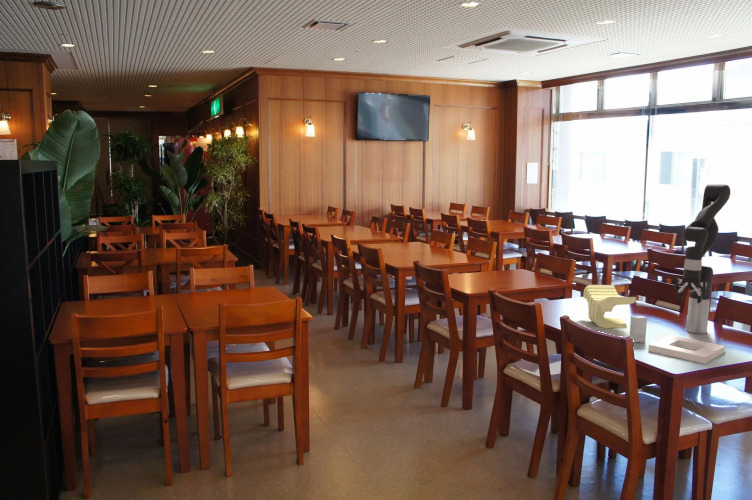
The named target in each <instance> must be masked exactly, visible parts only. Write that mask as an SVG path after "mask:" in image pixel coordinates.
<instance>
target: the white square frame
mask: <svg viewBox="0 0 752 500" xmlns="http://www.w3.org/2000/svg"><path fill="white" fill-rule="evenodd" d="M725 349H726V345H723V344H717V343H711V342H707V341H702V340H698V339H692V338H687V337H683V336H679V335H672V334H669V335H667V336H665V337H662V338H661V339H659V340H656V341H653V342H651V343H649V344H648V350H647V351H648V352H650V351H651V352H652V353H655V354H659V353H660V355H664V356H668V357H674V358H677V359H678V358H679V359H683V360H687V361H692V362H694V363H695V362H696V363H699V364H707V363H709V362H710V361H712V360H714V359H716V358H717V357H719V356H721V355H724V353H726V350H725Z"/></svg>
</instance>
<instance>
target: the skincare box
mask: <svg viewBox="0 0 752 500" xmlns="http://www.w3.org/2000/svg"><path fill="white" fill-rule="evenodd" d="M647 321H648V318H647V317H646V316H644V315H630V327H629V338H630V337H632V338H633V340H634V344H637V343H638V342H640V343H641V344H642V343H646V339H647V338H646V335H647Z"/></svg>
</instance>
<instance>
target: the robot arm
mask: <svg viewBox="0 0 752 500" xmlns="http://www.w3.org/2000/svg"><path fill="white" fill-rule="evenodd" d="M730 196H731V188H730V186H729V185H728V184H725V183H724V184H723V183H721V184H720V183H708V184H707V185H706V186H705V188H704V191H703V197H702V207H701V210H699V212H698V213H697V215H696V217H695V219H694V220H693V221H692V222H691V223H689V224H688V225H687V226H686V227H685V229H684V231H683V238H684V240H685V241H686V242H693V243H694V246H693V245H692V246H687V247H686V251H685V259H684V263H683V264H684V265H683V274H682V279H680V278H676V279H675V283H674V290H673V291H675V292H677V300H678V301H679V302H680V301H682V300H683V293H684V290H685V289H686V290H690V291H689V296H688V297H689V298H688V306H687V307H688V309H687V319H686V331H687V332H688V333H693V334H707V332H708V323H709V313H710V312H709V311H710V299H711V294H712V284H713V280H714V279H713V277H714V270H713V268H712V267H711V266H707V265H706V266H705V265H702V263H703V261H702V260H703V257H704V256H705V255H706V253H707V252H709V250H710V249H711V248H713V247H714V246H715V244H716V243H717V239H718V235H719V225H718V223H717V221H716V219H715V217H716V215H717V214H718V213H719V212H720V211H721V210H722V209H723V207H725V205H726V204H727V202H728V201H729V199H730ZM681 283H682V286H681V287H680V284H681ZM700 286H701V287H700Z"/></svg>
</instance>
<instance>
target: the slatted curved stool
mask: <svg viewBox="0 0 752 500" xmlns="http://www.w3.org/2000/svg"><path fill="white" fill-rule="evenodd" d="M583 299H584V300H586V301H587V304H588V305H587V306H588V319H589V320H590V321H591V322H593V323H594V324H596V325H597V327H599V328H608V329H609V328H610V329H612V328H616V329H627V328H628V327H627V323H626V322H624V321H623V320H622V319H620V318H618V317H617V318H616V317H615V318H614V317H605V313H606V312H607V313H608V312H610V313H611V312H613V311H612V310H614V307H616V306H618V305H620V306H621V305H631V304H635V303H636V301H637V297H636V296H620V295H619V293H618V292H617V289H616V287H615V285H614V284H589V285H586V287H584V290H583Z"/></svg>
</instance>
